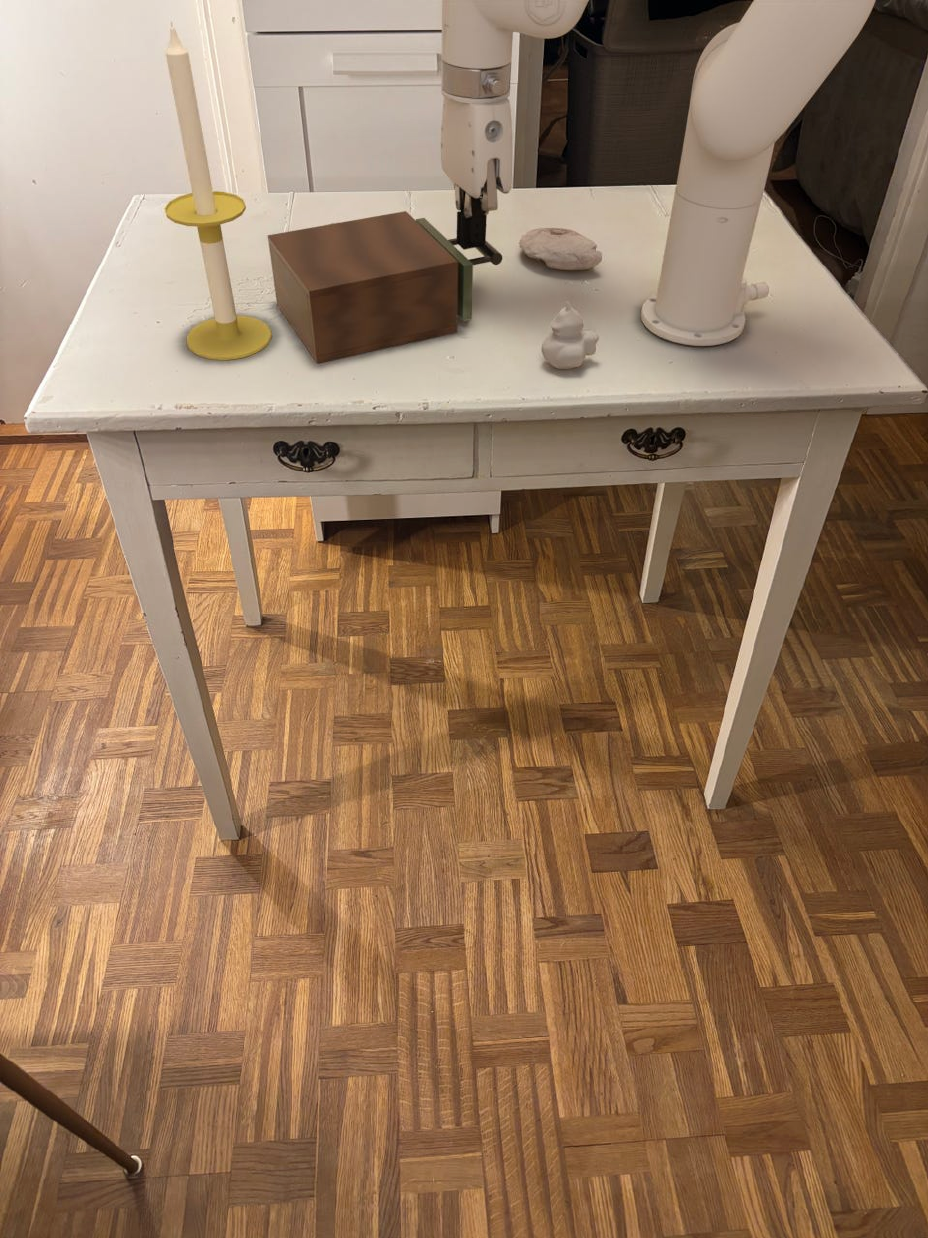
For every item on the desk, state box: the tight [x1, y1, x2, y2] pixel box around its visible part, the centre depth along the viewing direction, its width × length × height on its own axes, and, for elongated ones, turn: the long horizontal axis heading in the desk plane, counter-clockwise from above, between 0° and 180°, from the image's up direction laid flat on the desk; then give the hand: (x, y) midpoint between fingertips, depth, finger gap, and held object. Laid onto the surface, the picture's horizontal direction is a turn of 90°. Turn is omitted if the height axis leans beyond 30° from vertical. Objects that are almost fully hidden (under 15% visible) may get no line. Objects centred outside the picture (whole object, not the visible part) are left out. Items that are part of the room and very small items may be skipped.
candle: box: [164, 20, 273, 361], centre depth 98 cm, size 10×10×32 cm
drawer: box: [415, 217, 503, 322], centre depth 112 cm, size 22×14×7 cm, turn 115°
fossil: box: [518, 227, 603, 271], centre depth 124 cm, size 12×4×10 cm
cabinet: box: [267, 210, 458, 364], centre depth 110 cm, size 18×15×9 cm
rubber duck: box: [540, 299, 600, 370], centre depth 104 cm, size 5×7×8 cm
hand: (470, 244), depth 113 cm, fingers closed
